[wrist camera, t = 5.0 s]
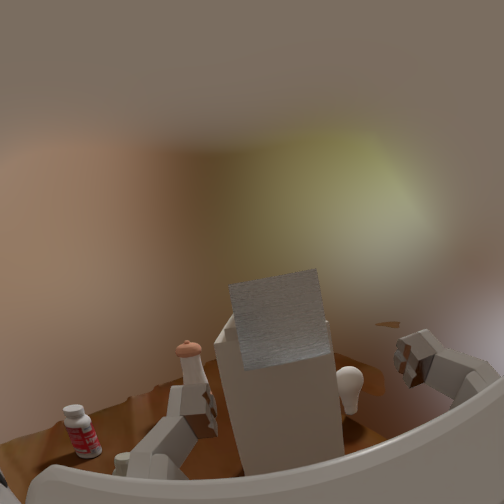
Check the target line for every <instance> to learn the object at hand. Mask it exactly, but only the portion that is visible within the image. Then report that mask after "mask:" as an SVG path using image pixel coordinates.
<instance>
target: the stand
mask: <svg viewBox="0 0 504 504" xmlns="http://www.w3.org/2000/svg"><path fill="white" fill-rule="evenodd" d="M326 327H327V333H328V339H329V346H330V354H326V355H322V356H318V357H314V358H309V359H305V360H300V361H296V362H291V363H287V364H282V365H277V366H271V367H266V368H261V369H255V370H249V371H244V366H243V361H242V356H241V351H240V346H239V340H238V335H237V330H236V325H235V319H234V314H233V315H232V316H231V317H230V319H229V321H228V322H227V324H226V325H225V327H224V328H223V330H222V332H221V333H220V335H219V336H218V338H217V339H216V341H215V342H214V348H215V353H216V358H217V363H218V368H219V372H220V377H221V381H222V386H223V390H224V395H225V399H226V403H227V407H228V412H229V416H230V420H231V424H232V428H233V432H234V436H235V440H236V444H237V447H238V451H239V455H240V459H241V462H242V466H243V470H244V473H245V476H254V475H261V474H267V473H273V472H279V471H285V470H290V469H295V468H299V467H304V466H308V465H312V464H316V463H320V462H324V461H328V460H331V459H335V458H338V457H342V456H344V443H343V431H342V420H341V412H340V402H339V392H338V384H337V376H336V368H335V361H334V354H333V347H332V340H331V333H330V327H329V322H328V321H326Z"/></svg>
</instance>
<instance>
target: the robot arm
mask: <svg viewBox="0 0 504 504" xmlns="http://www.w3.org/2000/svg"><path fill="white" fill-rule="evenodd" d="M396 346H397V348H398V349H397V351H396V352H395V353H394V365H395V367H396V369H397V371H398V372H399V373H401V374H403V380H404V381H405V383H406V385H407V386H408V387H409V389H410V388H413V387H415V386H417V385H420V384H422V383H425V384H427V385H428V386H430V387H432V388H434V389H435V390H437V391H439V392H441V393H443V394H444V395H446V396H448V397H450V398H452V399H453V400H454V401H453V403H452V405H451V406H450V409H449V411H448V412H446V413H444V414H443V415H441V416H439V417H437V418H435V419H433V420H431V421H429V422H427V423H425V424H423V425H421V426H419V427H417V428H415V429H413V430H411V431H408V432H406V433H404V434H402V435H399V436H397V437H395V438H392V439H390V440H387V441H385V442H382V443H380V444H377V445H374V446H372V447H369V448H366V449H363V450H360V451H357V452H354V453H351V454H348V455H345V456H342V457H338V458H335V459H331V460H328V461H324V462H320V463H316V464H312V465H308V466H304V467H299V468H295V469H290V470H285V471H279V472H273V473H267V474H261V475H254V476H245V477H236V478H225V479H209V480H189V479H188V478H187V477H186V476H185V475H184V474H183V472H182V471H181V470H180V469H179V468H180V467H181V465H182V464H183V462H184V461H185V459H186V458H187V456H188V454H189V453H190V451H191V450H192V448H193V447H194V445H195V444H196V442H197V441H198V440H197V439H203V438H213V437H218V435H217V423H216V420H215V418H216V416H217V408H216V403H215V399H214V396H213V395H212V394H210V387H209V384H208V383H204V384H192V385H181V386H172V387H171V389H170V395H169V402H168V409H167V417H163V418H162V419H161V420H160V421H159V422H158V423H157V424H156V425H155V426H154V427H153V429H152V430H151V431H150V432H149V433H148V434H147V435H146V436H145V437H144V438H143V439H142V440H141V441H140V442H139V444H138V445H137V446H136V447H135V448H134V449H133V450H132V451H131V452H130V457H129V463H128V469H127V475H126V477H122V476H114V475H107V474H101V473H95V472H89V471H84V470H79V469H75V468H70V467H66V466H62V465H56V464H55V465H51V466H49V467H48V468H46V469H45V470H44V471H43V472H41V473H40V474H39V475H38V476H36V477H35V478H34V479H33V480H32V482H31V484H30V486H29V489H28V493H27V497H26V502H25V504H504V375H503V376H502V377H501V376H500V375H499V374H498V373H497V372H496V371H495V370H494V368H493V367H492V366H491V365H490V364H489V363H488V362H487V361H484V360H481V359H478V358H475V357H472V356H469V355H467V354H464V353H461V352H458V351H455V350H452V349H449V348H447V349H445V347H444V346H443V345H442V344H441V343H440V342H439V341H438V340H437V339H436V338H435V336H434V335H433V334H432V333H431V332H430V331H429V330H428V329H424V330H421V331H419V332H417V333H413V334H411V335H408V336H405V337H403V338H400V339H398V341H397V344H396ZM0 504H21V503H20V501H19V500H18V499H17V498H16V496H15V495H14V494H13V493H12V491H11V490H10V489H9V487H8V485H7V482H6V480H5V477H4V475H3V473H2V471H1V469H0Z"/></svg>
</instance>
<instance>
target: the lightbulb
mask: <svg viewBox="0 0 504 504" xmlns="http://www.w3.org/2000/svg"><path fill="white" fill-rule="evenodd" d="M336 376H337V384H338V392H339V395H340V397H341V399H342V402H343V405H344V407H345V413H346V414H349V415H353V414H354V413H356V412H357V403H358V395H359V392H360V390H361V387H362V385H363V375H362V373H361V372H360V371H359V370H358V369H357V368H355V367H351V366H347V367H343V368H341V369H340V370H339V371H337V373H336Z"/></svg>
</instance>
